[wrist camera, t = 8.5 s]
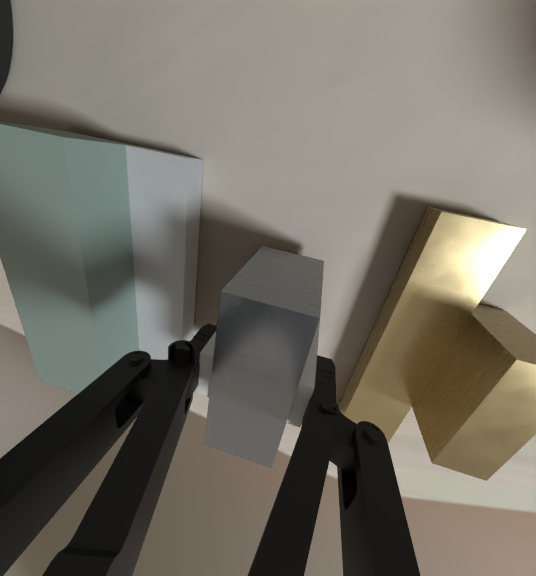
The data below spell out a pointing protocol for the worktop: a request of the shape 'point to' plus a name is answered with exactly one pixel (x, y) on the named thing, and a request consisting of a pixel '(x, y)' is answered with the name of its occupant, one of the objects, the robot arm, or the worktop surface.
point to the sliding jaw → (450, 350)
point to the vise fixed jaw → (97, 248)
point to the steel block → (261, 351)
